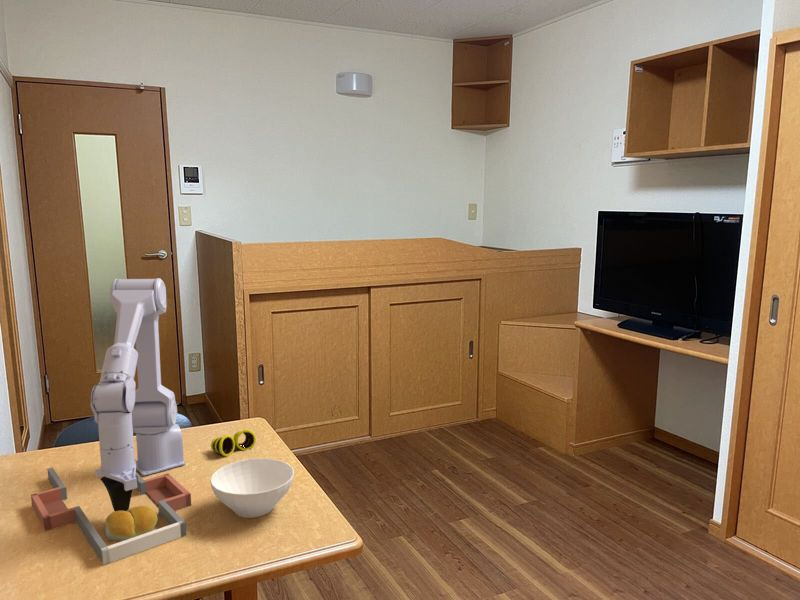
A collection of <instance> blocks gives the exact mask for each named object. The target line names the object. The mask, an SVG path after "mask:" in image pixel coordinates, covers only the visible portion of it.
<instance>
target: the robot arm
mask: <svg viewBox="0 0 800 600" xmlns="http://www.w3.org/2000/svg"><path fill="white" fill-rule="evenodd" d="M109 296H110V297H109V298H110V302H111V304H112V306H113V310H114V311H115V313H116V314H117V315H116V322H115V331H114V332H115V334H114V343H113V344H112V345H111V346H109V347H108V348H107V349H106V351H105V356H104V359H103V365H102V369H101V373H100V377H99V382H98V383H97V384H95V385H93V387H92V390H91V393H90V409H91V411H92V413H93V415H94V422H95V423H96V424H97V426H98V440H99V441H98V443H99V456H100V468H99V469H95V470H94V476H95V477H97V478H100V481H101V482H102V484H103V486H104V487H105V489H106V490H107V493H108V495H109V498H110V502H111V505H112V508H113V512H115V511H127V510H128V509H130V504H131V498H132V495H133V491H134V489H136V488H137V481H138V477H137V476H136V473H137V471H138V472H139V473H140V475H142V476H143V477H145V476H149V475H152V474H156V473H159V472H163V471H166V470H169V469H174V468H177V467H180V466H184V465H186V462H185V460H184V459H185V458H184V440H183V439H184V438H183V433H182V430H181V429H182V428H180V426H179V424H178V423H176V422H177V419H178V406H177V402H176V394H175V392H174V391H172V390H170V389H169V388H167V387H165V386H164V385H162V375H161V373H162V371H161V358H160V357H161V355H160V353H161V352H160V351H161V350H160V333H159V319H160V315H163V314H164V313H165V314H166V312H167V306H168V305H167V287H166V284H165V282H164V281H163V280H162V279H161V277H160V278H159V277H157V278H115V279H114V280H113V281H112V283H111V285H110V290H109ZM135 348H136V349H135ZM136 369H137V383H136V381H135V376H136ZM136 384H137V385H136ZM136 386H137V389H136ZM134 433H135V439H136V440H135V441H136V457H137V460H136V459H135V444H134Z"/></svg>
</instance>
